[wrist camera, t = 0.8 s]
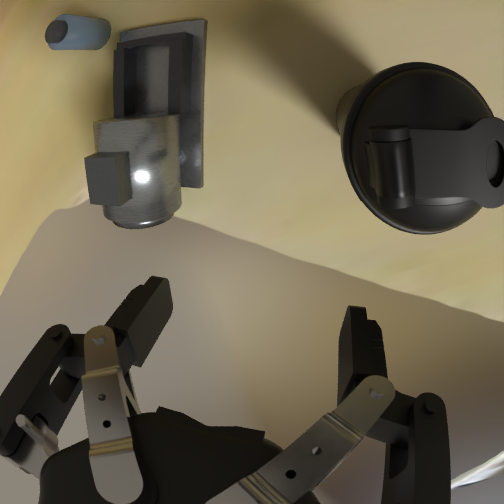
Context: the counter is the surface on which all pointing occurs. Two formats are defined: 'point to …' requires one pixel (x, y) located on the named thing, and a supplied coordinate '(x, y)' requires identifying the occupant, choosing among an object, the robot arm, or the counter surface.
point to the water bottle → (421, 147)
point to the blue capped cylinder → (77, 33)
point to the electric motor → (151, 125)
